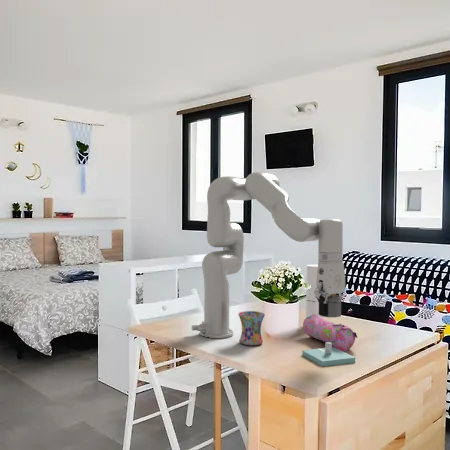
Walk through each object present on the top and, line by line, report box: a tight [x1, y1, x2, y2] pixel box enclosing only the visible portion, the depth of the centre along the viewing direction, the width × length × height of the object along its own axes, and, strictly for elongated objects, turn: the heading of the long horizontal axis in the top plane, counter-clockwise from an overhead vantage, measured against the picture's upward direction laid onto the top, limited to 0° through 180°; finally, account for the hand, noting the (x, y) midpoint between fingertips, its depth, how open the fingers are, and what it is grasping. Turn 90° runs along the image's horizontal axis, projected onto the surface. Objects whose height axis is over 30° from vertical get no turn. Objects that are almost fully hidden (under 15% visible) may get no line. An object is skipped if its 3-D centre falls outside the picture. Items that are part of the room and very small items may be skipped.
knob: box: [320, 294, 342, 318], centre depth 153 cm, size 6×6×6 cm
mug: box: [238, 310, 266, 346], centre depth 171 cm, size 12×9×11 cm
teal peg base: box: [301, 342, 356, 367], centre depth 154 cm, size 12×12×5 cm
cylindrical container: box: [305, 264, 325, 319], centre depth 197 cm, size 7×7×25 cm
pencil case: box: [302, 314, 358, 352], centre depth 171 cm, size 21×9×9 cm, turn 23°
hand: (330, 313), depth 153 cm, fingers closed on knob, 6 cm apart
